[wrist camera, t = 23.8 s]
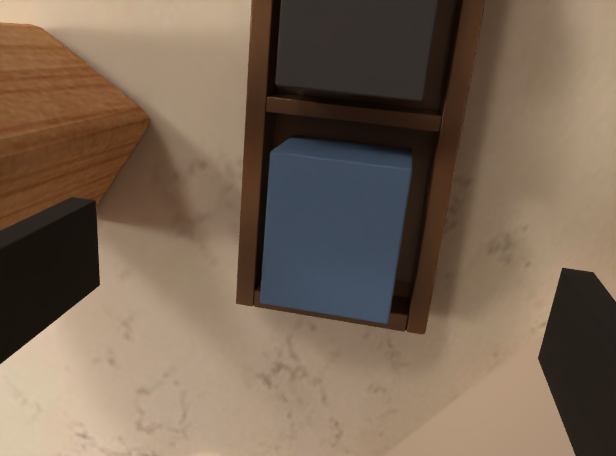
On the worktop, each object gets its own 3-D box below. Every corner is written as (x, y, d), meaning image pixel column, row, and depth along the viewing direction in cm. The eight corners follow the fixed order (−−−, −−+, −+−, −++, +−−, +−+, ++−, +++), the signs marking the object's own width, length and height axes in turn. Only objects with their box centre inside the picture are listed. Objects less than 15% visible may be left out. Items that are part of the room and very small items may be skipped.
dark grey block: (310, -87, 20) (288, -117, 17) (447, -78, 20) (456, -108, 16) (297, 79, 22) (274, 86, 19) (421, 92, 22) (423, 102, 18)
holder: (274, -142, 20) (259, -163, 18) (502, -131, 19) (512, -152, 17) (249, 284, 26) (235, 304, 24) (423, 312, 25) (425, 335, 23)
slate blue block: (292, 134, 23) (269, 151, 19) (412, 148, 22) (412, 169, 19) (282, 265, 25) (259, 303, 21) (391, 282, 24) (388, 325, 21)
